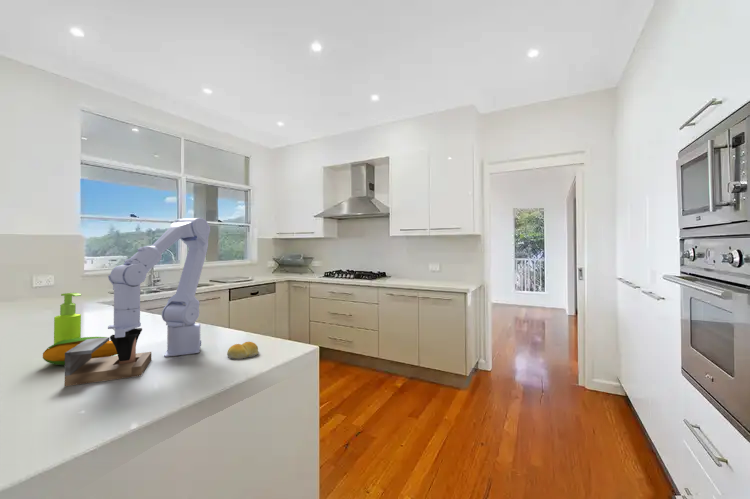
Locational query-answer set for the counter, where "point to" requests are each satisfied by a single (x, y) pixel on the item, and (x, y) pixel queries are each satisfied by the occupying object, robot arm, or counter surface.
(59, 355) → the corn
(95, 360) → the socket station
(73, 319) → the soap dispenser
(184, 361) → the counter surface
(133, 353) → the peg
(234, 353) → the bread roll
